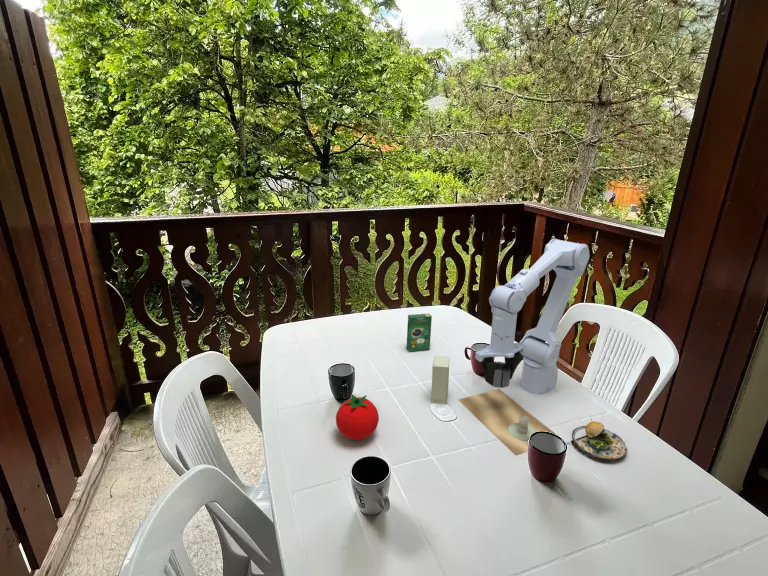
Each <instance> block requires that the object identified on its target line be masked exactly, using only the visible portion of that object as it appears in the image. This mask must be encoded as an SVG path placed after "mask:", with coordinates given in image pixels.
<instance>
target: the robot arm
mask: <svg viewBox="0 0 768 576" xmlns="http://www.w3.org/2000/svg"><path fill="white" fill-rule="evenodd" d="M589 260H590V249H589V246H588V245H587V244H586V243H578V242H572V241H566V240H561V239H558V238H552V239H550V240H549V242H548V243H546V244H545V247H544V251H543V254H541V256H540V257H539V258H538V259H537V260H536V262H534V264H533V265H531V267H530V268H529V269H528V268H523V269H521V270H520V271H518V273H517V274H515V276H513V277H512V278H511V279H510V280H509V281H508V282H507V283H505V284H504V285H498V286H495V287H494V288H493V290H492V291H491V293H490V296H489V298H488V301H489V305H490V307H491V311H490V312H491V313H492V322H491V323H492V324H491V325H492V326H491V335H490V343H489V344H490V345H488V346H486V347H484V348H483V349H480V350H478V351H475V355H474V359H475V360H477V361H478V362H480V365H481V367H482V370H483V375H484V380H485V382H486V383H487V384H488V385H490V384H492V382H493V377H494V372H495V369H496V367H497V365H498V364H497V363H495V359H494V358H496V357H498V358H499V357H503V358H504V363H506V364H508V365H509V366H511V373H510V380H512V379H513V376H514V374H515V372H516V369H517V368H518V366H519V365H520V364H521V362H523V363H522V371H521V379H520V387H521V389H523V390H524V391H525V392H528V393H530V394H535V395H540V394H544V393H546V392H548V391H551V390H553V391H554V392H555V393H558V390H557V389H556V386H557V381H558V380H557V379H558V374H559V371H558V370H559V369H558V365H557V362H558V360H559V358H560V350H561V347H562V343H561V341H560V339H559V338H558V336H557V335H556V332H557V330H558V327H559V325H560V322H561V320H562V317H563V315H564V312H565V309H566V307H567V304H568V302H569V300H570V297H571V295H572V292H573V290H574V287H575V285H576V282H577V280H578V278H580V277H582V276H583V275H584V272H585V270H586V268H587V265H588V262H589ZM552 270H553V272H555V274H556V277H555V280H554V282H553V285H552V287H551V290H550V292H549V295H548V297H547V300H546V302H545V305H544V307H543V310H542V312H541V315H540V317H539V320H538V323H537V325H536V326H535V327H534V328H531V329H528V330H527V331H526V332H525V334H524V336H523V337H522V338H521V340H520V341H519V342H515V338H516V337H515V336H516V327H517V318H518V313H519V312H520V311H521V310H522V309H523V306H524V304H525V302H526V301H527V297H528V296H529V295H530V294H531V293H533V292H534V291H535V290H536V289H537V288H538V287H539V285H540V279H541V278H542V277H544V276H545V275H546V274H548V273H549V272H551V271H552Z"/></svg>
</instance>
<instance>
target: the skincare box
mask: <svg viewBox="0 0 768 576" xmlns="http://www.w3.org/2000/svg"><path fill="white" fill-rule="evenodd" d="M432 361H433V362H432V371H431V372H432V373H431V374H432V375H431V403H433V404H441V405H447V404H448V399H449V382H450V381H449V379H450V378H449V377H450V374H449V373H450V357H448V356H439V355H434V356H433V360H432Z"/></svg>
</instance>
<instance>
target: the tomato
mask: <svg viewBox="0 0 768 576" xmlns="http://www.w3.org/2000/svg"><path fill="white" fill-rule="evenodd" d="M350 395H351V398H349V399H347V400H343V403H342V404H341V405H340V406H339V407H338V410H337V411H336V414H335V423H336V427H337V428H338V430H339V432H340V434H341V435H343V436H344V437H345V438H348V439H350V440H355V441H357V440H364V439H367V438H368V437H370V436H371V435H372V434H374V432H375V431H376V429H377V428H378V424H379V421H380V415H379V411H378V409H377V407H376V405H375V404H374V403H373V402H372V401H371V400H369V399H368V398H366V397H367V394H366V395H363V396H362V397H356V396H355V395H354V394H352V393H351V394H350Z"/></svg>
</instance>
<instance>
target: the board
mask: <svg viewBox="0 0 768 576" xmlns="http://www.w3.org/2000/svg"><path fill="white" fill-rule="evenodd" d="M457 401H459V403H460V404H462V406H463V407H464V408H466V409H467V410H468V411H469V412H470V413H471V414H472V415H473V416H474V417H475V418H476V419H477V420H478V421H479V422H480V423H482V425H483V426H484V427H486V428H487V430H489V431H490V432H491V434H492V435H494V436H495V437H496V438H497V439H498V440H499V441H500V442H501V443H502V444H503V445H504V446H505V447H506V448H507V449H508V450H509V451H510V452H511V453H512V454H513V455H514V456H516V457H517V456H519V455H522V454H525V453H528V452H529V451H528V440H529V437H530V435H532V434H533V433H535V432H538V431H547V432H551V433H553V434H556V435H558V434H557V433H555V432H554V431H553V430H551V429H550V428H549V427H548V426H546V424H544V423H543V422H542V421H540V420H539V419H538V418H536V417H535V416H534V415H533V414H532V413H530V412H529V411H528V410H526V409H525V408H524V407H523V406H521V404H519V403H517V401H516V400H514V399H512V398H511V397H510V396H509V395H508V394H506V393H505V392H504V391H503V390H501V388H497V389H494V390H493V389H492V390H490V391H487V392H485V391H484V392H482V393H478V394H474V395H469V396H466V397H463V398H458V399H457Z"/></svg>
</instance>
